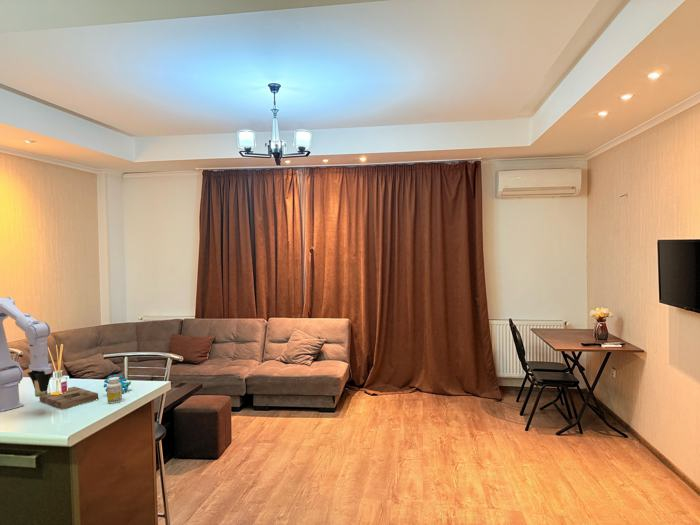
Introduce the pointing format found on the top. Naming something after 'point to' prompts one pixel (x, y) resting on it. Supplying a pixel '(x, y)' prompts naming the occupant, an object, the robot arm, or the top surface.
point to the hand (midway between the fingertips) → (41, 390)
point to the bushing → (38, 390)
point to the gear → (123, 385)
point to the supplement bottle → (114, 390)
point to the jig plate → (69, 398)
